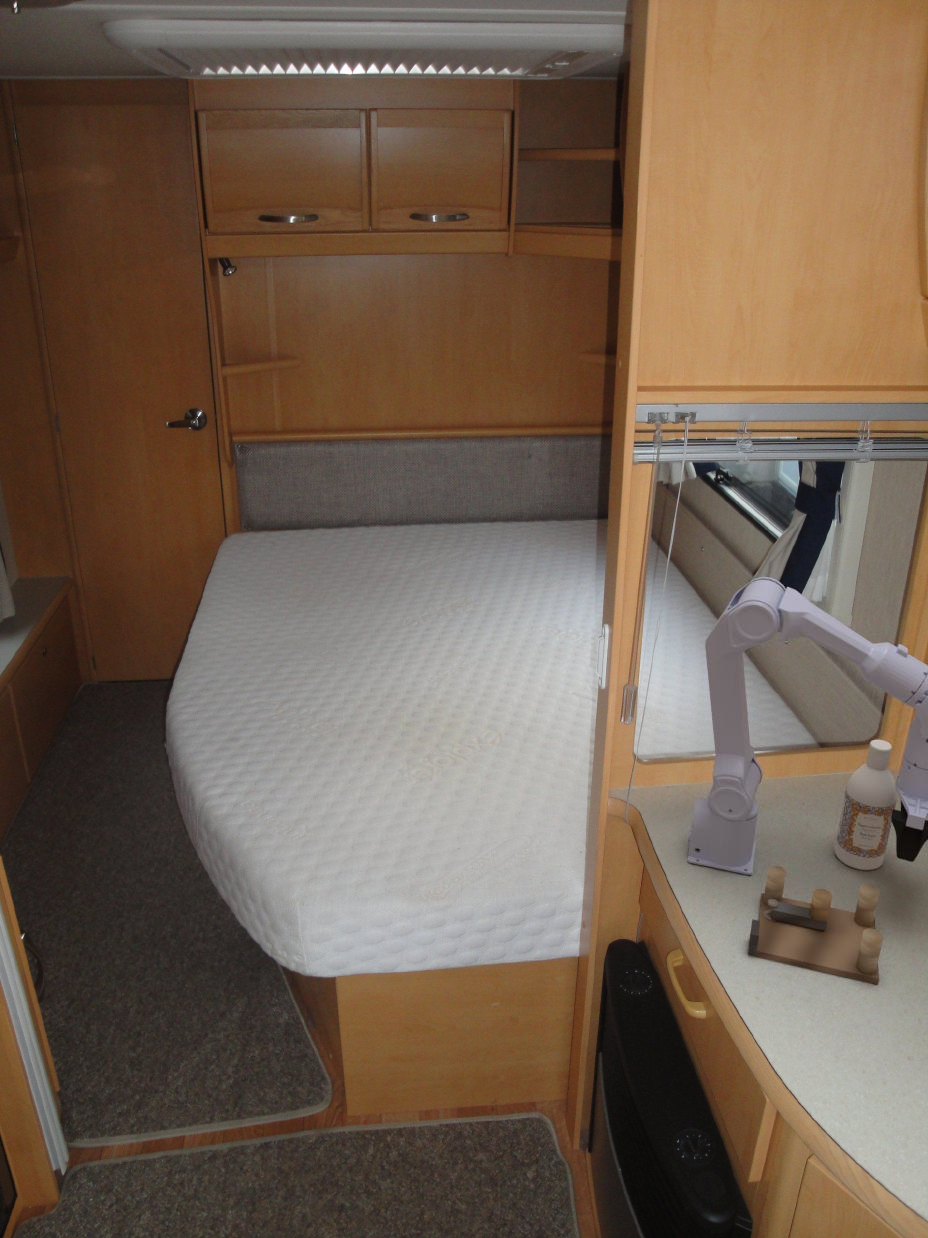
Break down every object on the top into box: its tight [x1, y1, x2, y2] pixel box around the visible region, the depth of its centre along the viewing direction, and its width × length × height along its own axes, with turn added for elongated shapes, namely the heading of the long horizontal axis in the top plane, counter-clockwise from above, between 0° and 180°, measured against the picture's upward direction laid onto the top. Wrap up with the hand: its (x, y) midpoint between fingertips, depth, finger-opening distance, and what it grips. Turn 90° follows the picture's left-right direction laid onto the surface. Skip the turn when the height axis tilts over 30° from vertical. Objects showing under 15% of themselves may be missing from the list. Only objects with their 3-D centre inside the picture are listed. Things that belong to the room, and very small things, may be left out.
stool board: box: [747, 865, 884, 986], centre depth 125 cm, size 16×12×6 cm
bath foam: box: [834, 739, 898, 871], centre depth 138 cm, size 7×7×20 cm
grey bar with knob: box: [768, 888, 833, 931], centre depth 126 cm, size 8×2×5 cm, turn 71°
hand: (907, 843), depth 129 cm, fingers open, 7 cm apart
